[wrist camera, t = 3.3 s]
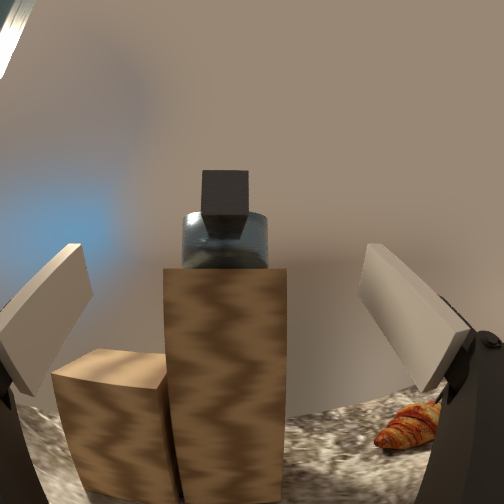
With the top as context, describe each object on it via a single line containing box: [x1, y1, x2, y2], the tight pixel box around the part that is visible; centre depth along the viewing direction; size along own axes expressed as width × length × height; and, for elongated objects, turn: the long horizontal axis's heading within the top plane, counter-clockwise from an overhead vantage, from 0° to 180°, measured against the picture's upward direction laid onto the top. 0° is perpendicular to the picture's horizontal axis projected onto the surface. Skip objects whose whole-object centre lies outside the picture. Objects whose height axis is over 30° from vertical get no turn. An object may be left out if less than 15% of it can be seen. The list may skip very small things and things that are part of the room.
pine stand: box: [51, 269, 287, 504], centre depth 31 cm, size 26×14×33 cm, turn 95°
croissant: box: [374, 401, 441, 450], centre depth 36 cm, size 21×10×8 cm, turn 104°
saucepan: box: [182, 170, 268, 269], centre depth 28 cm, size 10×21×6 cm, turn 5°
